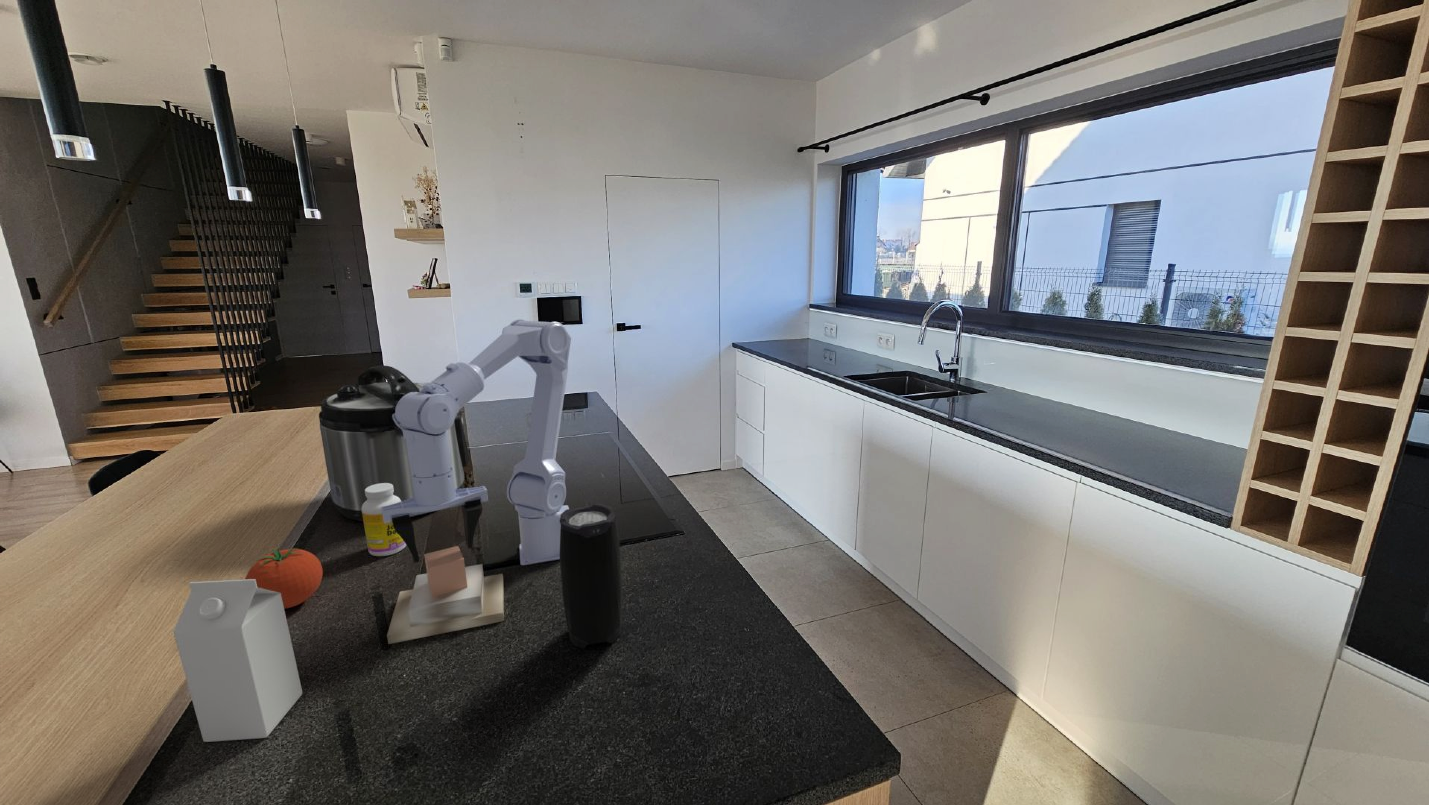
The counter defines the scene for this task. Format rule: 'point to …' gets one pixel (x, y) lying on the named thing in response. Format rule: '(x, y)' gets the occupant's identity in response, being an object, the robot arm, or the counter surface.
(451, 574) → the cube
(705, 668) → the counter surface
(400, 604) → the base
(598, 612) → the portable speaker
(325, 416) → the pressure cooker
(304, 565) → the tomato
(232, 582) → the milk carton
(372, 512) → the supplement bottle
